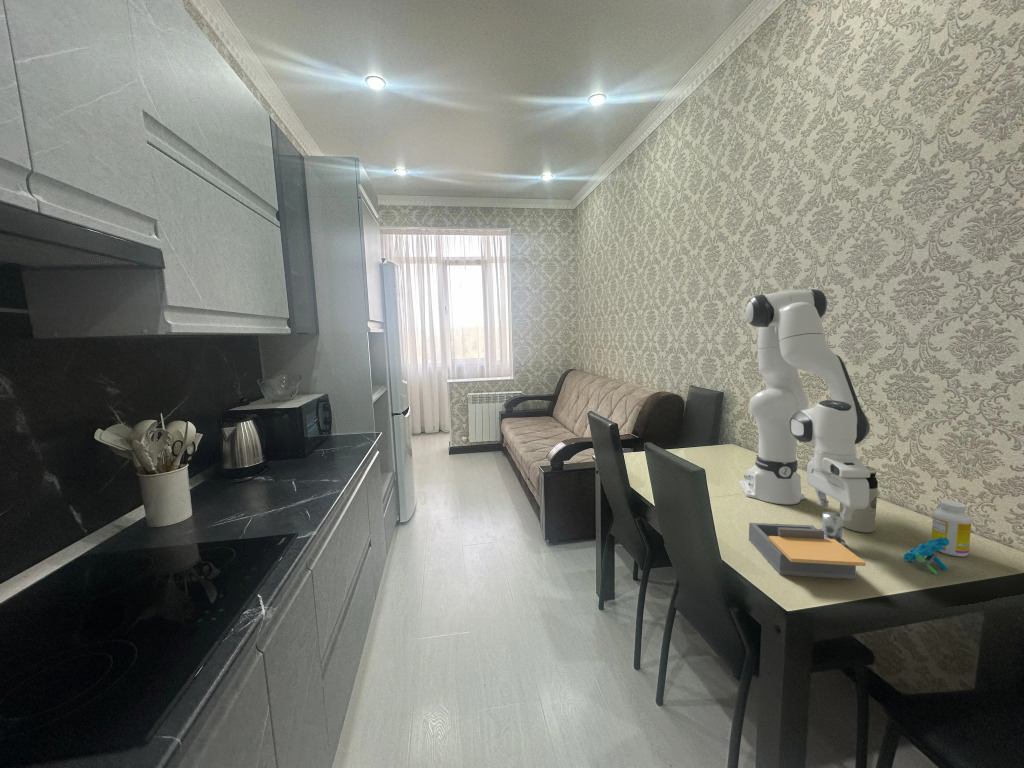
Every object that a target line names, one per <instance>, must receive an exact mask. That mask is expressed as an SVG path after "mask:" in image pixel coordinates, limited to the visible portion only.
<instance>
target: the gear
mask: <svg viewBox="0 0 1024 768" xmlns="http://www.w3.org/2000/svg"><path fill="white" fill-rule="evenodd" d="M948 544H950V543H949V540H948V539H947V538H946V537H945V538H942V537H939V538H937V539H936V540H934V539H932V540H931V539H929V540H928V541H927V542H926V543H920V544H918V545H917V548H915V547H913V548H910V549H909V550H908V551H907V552H905V553H904V554H903V555H904V556H903V559H904V560H905V561H906V562H908V561H910V562H914V561H916V560H918V561H919V562H920V564H921V566H923V567H924V566H925V567H926V568H927V569H929V570H930V572H931V573H933V574H934V575H935V576H936V575H938V572H937V570H935V568H933V566H932V565H930V564H931V563H932V562H935V563H936V564H937V565H938V566H939V567H940V568H941V569H942V570H943V571H944V570H947V569H948V566H947V565H946V564H945V563H944V562H943V561H942V560H940V558H939V557H938V556H937V554H936V553H935V551H937V550H938V551H937V552H939V551H940V550H942V549H944V547H943V546H947V545H948Z"/></svg>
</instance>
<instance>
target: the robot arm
mask: <svg viewBox="0 0 1024 768" xmlns="http://www.w3.org/2000/svg"><path fill="white" fill-rule="evenodd" d="M827 301H828V300H827V297H826V295H825V293H823V291H822V290H821V289H813V288H807V289H790V290H783V291H778V292H777V291H776V292H771V293H766V294H762V293H761V294H758V295H755V296H752V297H751V298H749V300H748V301H747V303H746V307H745V317H746V320H747V322H748V324H750V325H751V326H752V327H756V328H758V333H757V358H758V359H757V362H758V372H759V374H760V375H761V376H762V378H763V380H764V383H765V386H766V389H763V390H760V391H759V392H757V393H755V395H753V396H752V397H751V398H750V401H749V403H748V407H749V408H748V409H749V411H750V414H751V415H752V416H753V417H754V419H755V423H756V426H757V432H758V454H756V458H755V462H754V465H753V466H752V467H750V468H748V469H747V471H746V473H744V474H743V479H741V480H739V482H738V484H739V486H740V488H741V489H742V491H743V493H744V494H745V496H746V497H749V498H753V499H757V500H760V501H763V502H766V503H771V504H777V505H797V504H799V503H800V502H801V501H802V500H804V499H806V495H805V494H803V493H802V481H801V479H802V478H801V475H800V474H799V473H798V472H797V471H798V467H799V464H798V460H797V447H798V441H799V442H801V443H806V444H814V447H813V455H812V456H811V457H810V461H809V462H808V463H807V468H806V478H805V479H806V482H807V483H806V484H807V485H808V486H811V487H812V488H814V489H815V494H816V496H817V499H818V502H817V503H818V504H817V505H819V506H821V507H822V508H828V507H829V503H830V502H829V500H828V499H827V496H828V497H830V498H831V499H834V500H835V501H836V502H839V504H840V503H842V507H843V508H844V509H843V512H840V511H839V514H840V518H841V519H843V520H845V521H851V515H852V513H853V512H854V510H855V509H865V508H866V507H867V506H868V504H869V483H868V481H867V479H866V478H869V477H870V470H869V469H868V468H867V467H866V466H867V465H865V464H864V463H862V461H861V460H860V459H859V458H858V457H857V449H856V445H857V444H860V443H861V442H863V440H864V439H866V437H867V436H868V435H869V433H870V430H871V426H870V425H871V424H870V421H869V419H868V417H867V415H866V414H865V412H864V410H863V409H862V407H861V404H860V402H859V399H858V396H857V393H856V391H855V389H854V386H853V383H852V379H851V378H850V375H849V372H848V370H847V367H846V365H845V362H844V361H843V359H842V358H841V356H839V355H838V354H836V353H835V352H834V351H832V349H831V348H830V347H829V345H828V343H827V341H826V338H825V337H826V336H825V332H824V327H823V324H822V323H823V322H822V320H821V319H822V317H824V315H825V314H826V311H827V309H828V302H827ZM799 370H801V371H804V372H808V373H811V374H813V375H816V376H818V377H820V378H822V379H823V381H825V383H826V385H827V386H828V390H829V392H830V396H831V398H832V399H831V400H826V399H825V400H820V401H818V402H817V403H816V404H815V405H814V406H813V407H810V408H808V405H809V396H808V395H807V393H806V392H805V391H804V387H803V384H802V381H801V378H800V373H799Z"/></svg>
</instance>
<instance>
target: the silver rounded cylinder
mask: <svg viewBox="0 0 1024 768" xmlns="http://www.w3.org/2000/svg"><path fill="white" fill-rule="evenodd" d="M821 514H822V517H821V529H822V530H823V531H824V534H825V535H826V536H827V537H829V538H830V539H835V540H836V541H838V542H839V543H840V544H842V545H843V546H844V547H846V544H847V543H846V541H845V539H843V529H844V527H843V519H841V518H840V513H838V512H837V513H836V512H834V511H823V512H822V513H821Z"/></svg>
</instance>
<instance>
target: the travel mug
mask: <svg viewBox="0 0 1024 768" xmlns="http://www.w3.org/2000/svg"><path fill="white" fill-rule="evenodd" d="M865 466H866V467H867V468H868V469H869V470H870V477H869V478H866V479H867V481H868V483H869V504H868V506H867V507H866V508H865V509H855V510H854V512H853V513H852V515H851V521H845V520H843V528H845V529H847V530H851V531H853V532H858V533H865V534H866V533H869V534H870V533H874V532H875V528H876V516H877V502H878V488H879V480H878V479H877V477H876V475H877V473H878V472H879V471H878V469H877V468H875V467H872V466H868V465H865ZM843 509H844V508H843V507H842V503H840V502H839V513H840V512H843Z"/></svg>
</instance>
